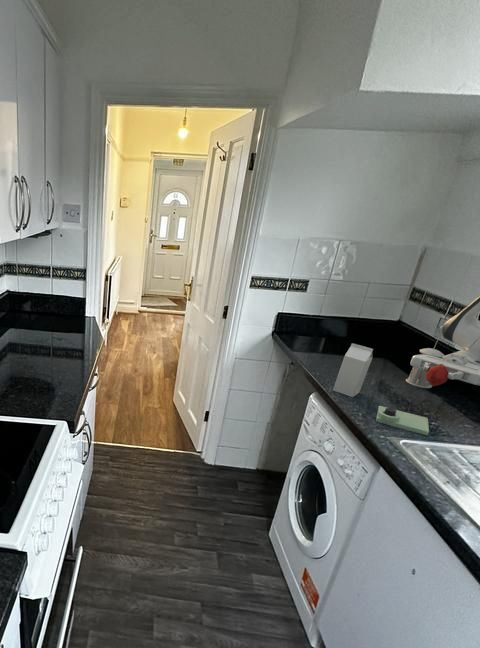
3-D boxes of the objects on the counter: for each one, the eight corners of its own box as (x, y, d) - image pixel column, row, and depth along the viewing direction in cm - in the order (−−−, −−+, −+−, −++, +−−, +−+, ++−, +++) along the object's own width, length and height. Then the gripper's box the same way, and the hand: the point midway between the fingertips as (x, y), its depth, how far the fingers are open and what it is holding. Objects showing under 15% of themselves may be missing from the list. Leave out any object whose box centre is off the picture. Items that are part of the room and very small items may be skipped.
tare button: (394, 414, 136) (396, 409, 136) (394, 417, 134) (396, 413, 133) (384, 411, 138) (385, 407, 137) (383, 414, 136) (385, 410, 135)
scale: (426, 421, 139) (429, 413, 137) (427, 436, 129) (431, 427, 128) (377, 409, 146) (380, 401, 145) (375, 422, 136) (378, 414, 135)
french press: (435, 385, 169) (463, 327, 159) (427, 392, 162) (454, 331, 152) (408, 377, 176) (432, 320, 165) (399, 383, 169) (423, 324, 158)
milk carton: (351, 399, 153) (369, 351, 145) (332, 391, 158) (348, 345, 150) (358, 394, 157) (376, 347, 149) (339, 387, 162) (355, 341, 154)
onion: (422, 380, 141) (431, 358, 137) (443, 385, 138) (453, 363, 134) (422, 386, 136) (431, 363, 133) (443, 391, 133) (454, 368, 130)
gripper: (424, 348, 148) (405, 353, 141) (496, 367, 132) (479, 374, 125) (417, 364, 151) (399, 370, 144) (488, 385, 135) (471, 392, 128)
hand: (437, 372), depth 134 cm, fingers closed on onion, 5 cm apart
